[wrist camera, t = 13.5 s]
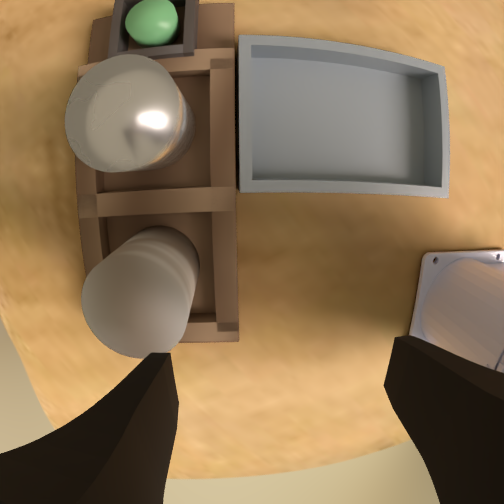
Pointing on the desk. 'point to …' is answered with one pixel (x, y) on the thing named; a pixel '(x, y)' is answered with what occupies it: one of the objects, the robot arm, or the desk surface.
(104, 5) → the desk surface
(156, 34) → the button
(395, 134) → the tote
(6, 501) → the robot arm
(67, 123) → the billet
